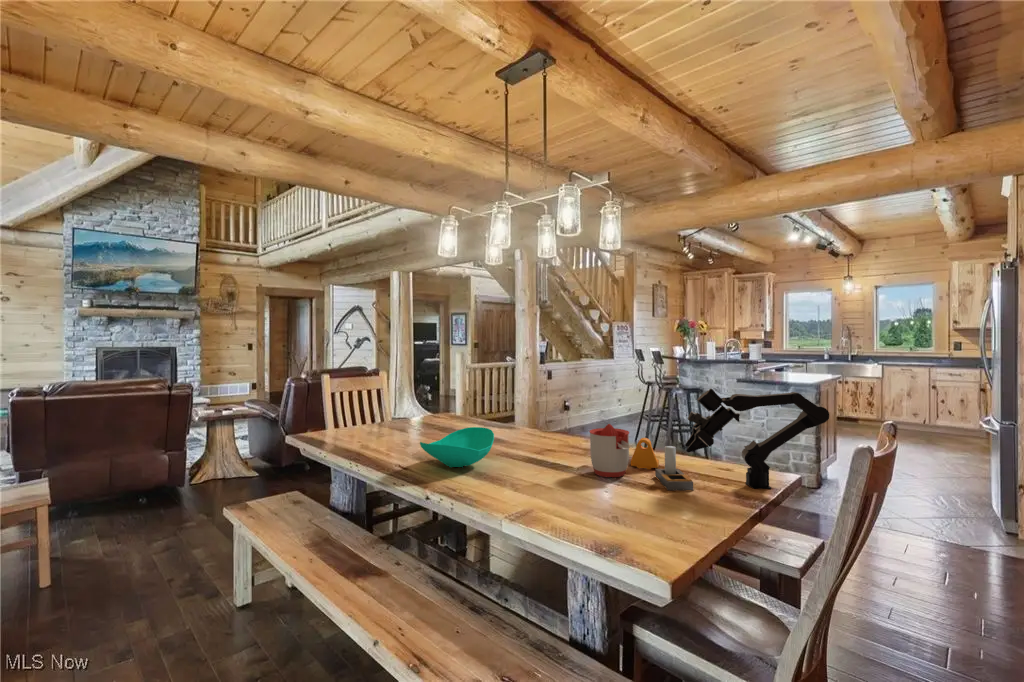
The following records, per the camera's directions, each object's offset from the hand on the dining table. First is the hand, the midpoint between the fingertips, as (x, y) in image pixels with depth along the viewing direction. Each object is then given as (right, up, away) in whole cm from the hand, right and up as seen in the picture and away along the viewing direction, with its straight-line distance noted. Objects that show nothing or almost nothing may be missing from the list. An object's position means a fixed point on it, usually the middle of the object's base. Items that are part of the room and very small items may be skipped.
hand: (686, 448), depth 177 cm
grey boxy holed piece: (-6, -12, -2) cm, 14 cm away
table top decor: (-88, -14, +26) cm, 93 cm away
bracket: (-9, -13, +21) cm, 27 cm away
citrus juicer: (-26, -13, +10) cm, 31 cm away
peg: (-5, -12, +2) cm, 14 cm away
